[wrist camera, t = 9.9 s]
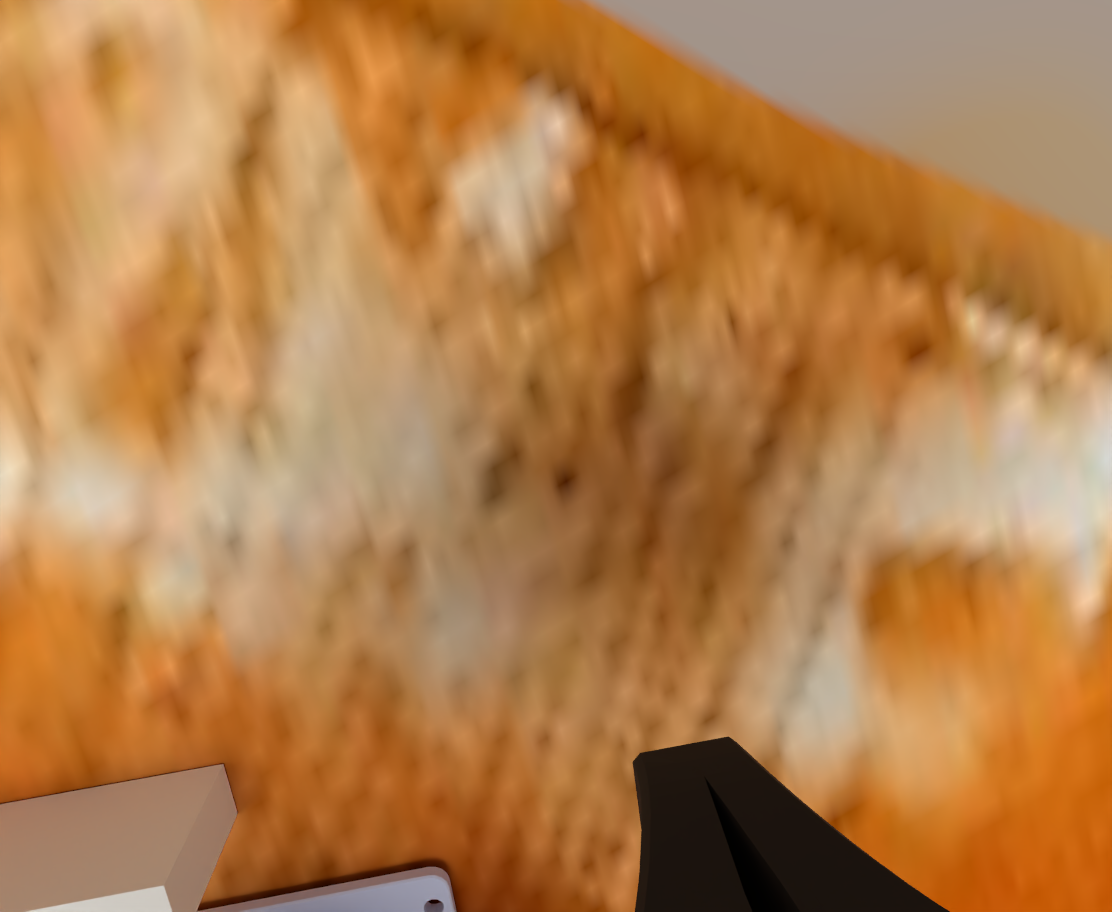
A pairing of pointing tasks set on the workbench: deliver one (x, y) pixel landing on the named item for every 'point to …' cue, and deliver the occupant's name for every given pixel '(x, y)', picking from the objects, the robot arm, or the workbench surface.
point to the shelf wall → (116, 845)
